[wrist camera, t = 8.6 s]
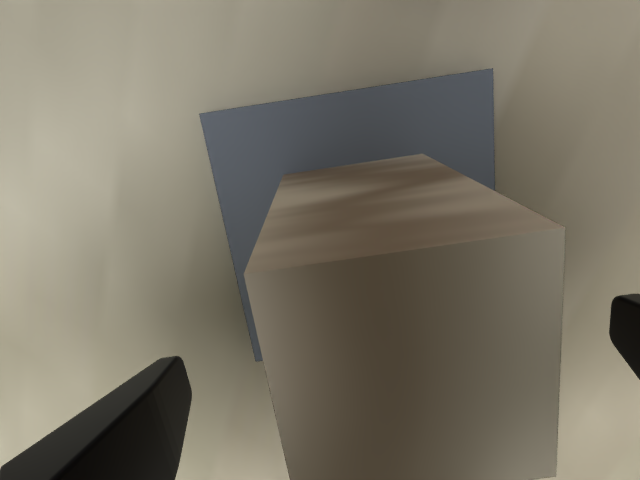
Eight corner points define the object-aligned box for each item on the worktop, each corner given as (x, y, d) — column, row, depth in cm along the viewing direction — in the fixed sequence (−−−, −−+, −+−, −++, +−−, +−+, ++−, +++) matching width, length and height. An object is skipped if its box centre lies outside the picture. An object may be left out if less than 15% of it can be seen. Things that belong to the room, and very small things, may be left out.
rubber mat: (486, 69, 15) (493, 68, 14) (490, 322, 18) (496, 329, 17) (203, 113, 15) (199, 113, 14) (257, 353, 18) (255, 361, 18)
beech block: (422, 153, 15) (564, 228, 6) (431, 281, 17) (555, 476, 8) (283, 174, 15) (243, 273, 7) (305, 299, 17) (296, 508, 8)
